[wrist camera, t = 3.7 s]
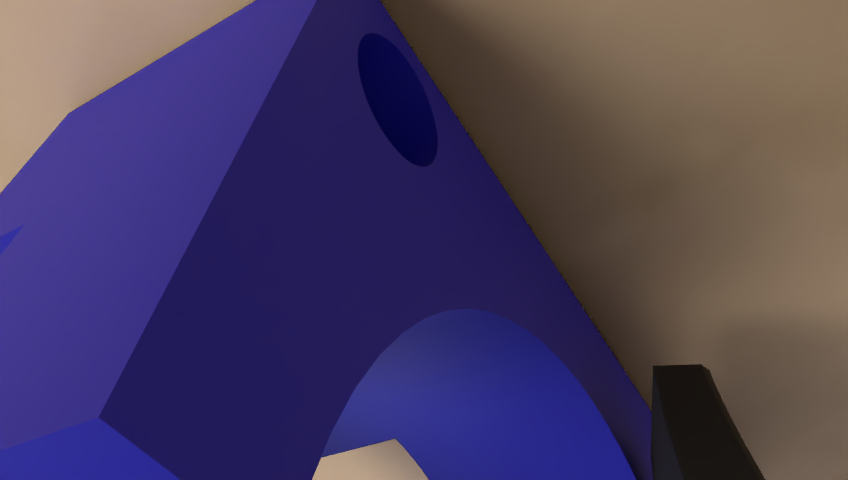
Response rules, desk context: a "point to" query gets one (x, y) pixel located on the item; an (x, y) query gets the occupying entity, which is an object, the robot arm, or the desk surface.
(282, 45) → the cable clip
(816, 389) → the desk surface
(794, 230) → the desk surface
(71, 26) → the desk surface
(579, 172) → the desk surface
